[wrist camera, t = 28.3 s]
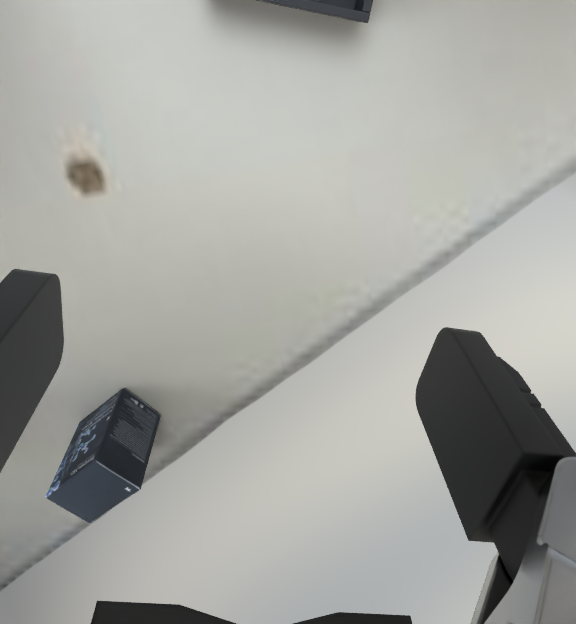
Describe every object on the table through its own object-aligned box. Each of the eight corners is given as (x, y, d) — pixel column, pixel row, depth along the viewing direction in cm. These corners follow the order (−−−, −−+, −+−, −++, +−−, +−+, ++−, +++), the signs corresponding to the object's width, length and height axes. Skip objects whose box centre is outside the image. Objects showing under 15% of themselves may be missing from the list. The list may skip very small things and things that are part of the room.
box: (123, 385, 54) (95, 460, 45) (162, 413, 56) (143, 490, 47) (77, 421, 56) (42, 499, 47) (117, 447, 59) (90, 526, 50)
